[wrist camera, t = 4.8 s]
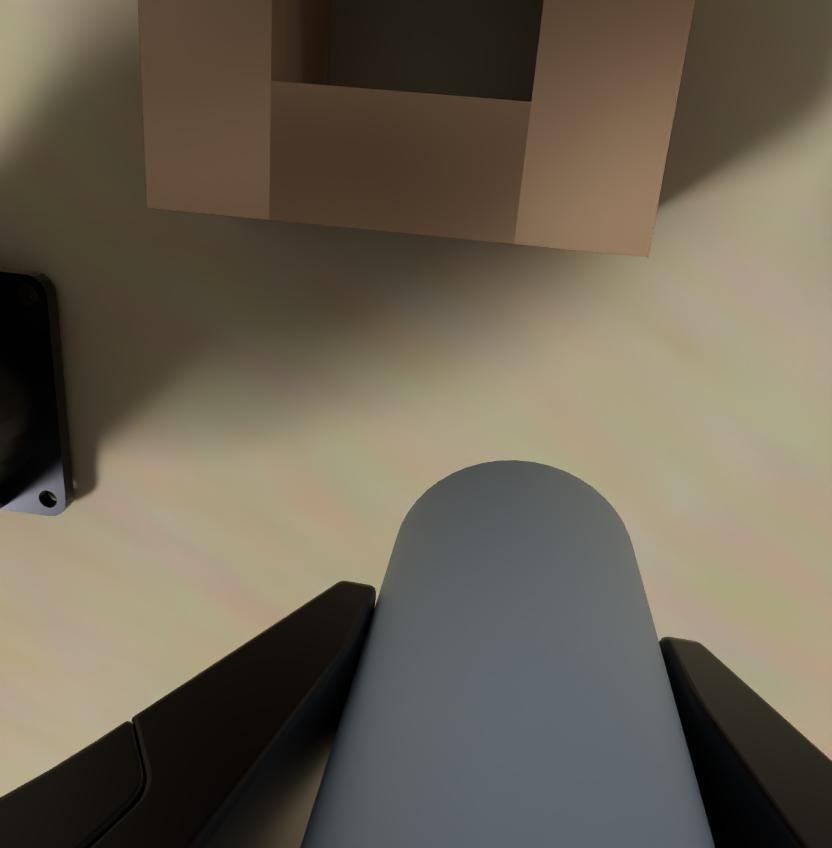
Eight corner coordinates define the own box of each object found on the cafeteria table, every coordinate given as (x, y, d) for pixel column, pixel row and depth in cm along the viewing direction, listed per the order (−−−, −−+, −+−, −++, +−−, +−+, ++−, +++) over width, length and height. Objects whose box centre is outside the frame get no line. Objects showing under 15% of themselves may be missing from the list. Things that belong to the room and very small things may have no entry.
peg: (608, 689, 11) (803, 1915, 3) (382, 648, 11) (94, 1705, 4) (659, 482, 10) (1129, 1640, 2) (407, 442, 10) (65, 1361, 2)
